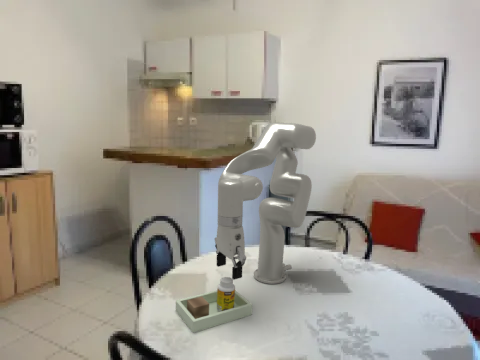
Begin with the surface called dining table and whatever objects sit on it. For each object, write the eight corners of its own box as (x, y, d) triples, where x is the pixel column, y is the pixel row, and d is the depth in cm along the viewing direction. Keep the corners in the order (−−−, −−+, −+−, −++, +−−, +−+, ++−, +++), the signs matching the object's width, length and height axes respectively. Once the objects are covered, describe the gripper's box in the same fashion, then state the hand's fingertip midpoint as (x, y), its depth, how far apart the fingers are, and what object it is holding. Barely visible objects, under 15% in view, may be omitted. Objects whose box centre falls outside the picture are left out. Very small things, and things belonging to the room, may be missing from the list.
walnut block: (201, 311, 110) (201, 296, 110) (208, 319, 106) (209, 303, 105) (186, 315, 108) (187, 300, 107) (193, 323, 104) (194, 308, 103)
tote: (230, 298, 121) (231, 286, 120) (251, 316, 110) (252, 304, 109) (175, 312, 110) (175, 300, 109) (193, 335, 99) (193, 321, 99)
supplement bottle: (222, 316, 108) (223, 285, 106) (213, 307, 113) (214, 277, 111) (237, 311, 111) (238, 281, 109) (228, 303, 116) (229, 274, 114)
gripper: (256, 226, 101) (254, 280, 105) (226, 210, 116) (225, 258, 119) (234, 230, 97) (232, 287, 101) (205, 213, 112) (205, 263, 115)
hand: (228, 271), depth 110 cm, fingers open, 9 cm apart
